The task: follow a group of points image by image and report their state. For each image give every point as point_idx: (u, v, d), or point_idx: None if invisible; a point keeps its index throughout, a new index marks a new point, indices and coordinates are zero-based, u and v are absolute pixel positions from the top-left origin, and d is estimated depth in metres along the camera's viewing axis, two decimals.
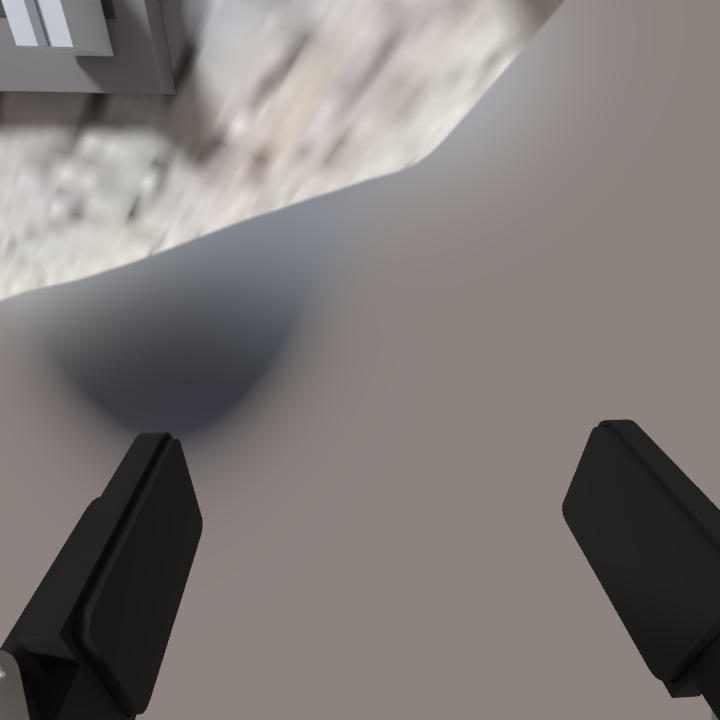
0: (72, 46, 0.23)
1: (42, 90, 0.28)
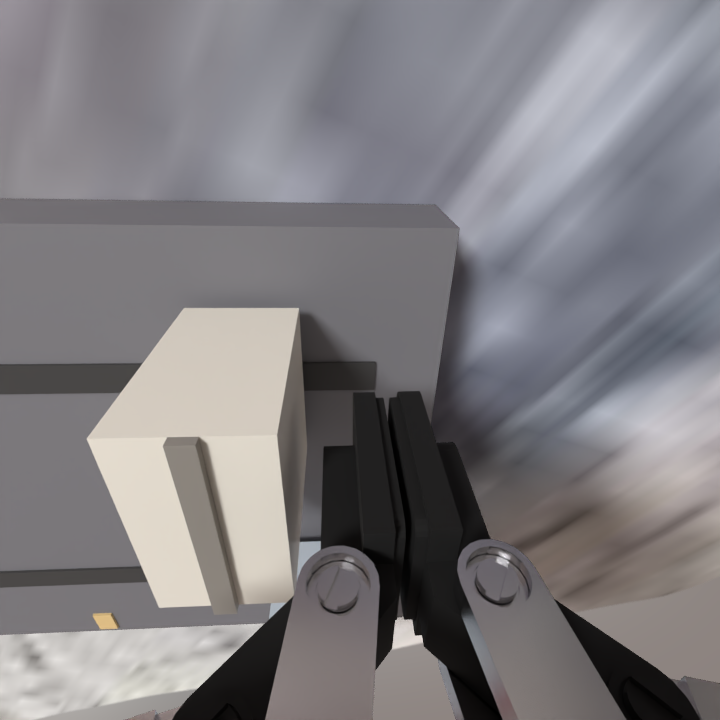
0: None
1: (238, 623, 0.20)
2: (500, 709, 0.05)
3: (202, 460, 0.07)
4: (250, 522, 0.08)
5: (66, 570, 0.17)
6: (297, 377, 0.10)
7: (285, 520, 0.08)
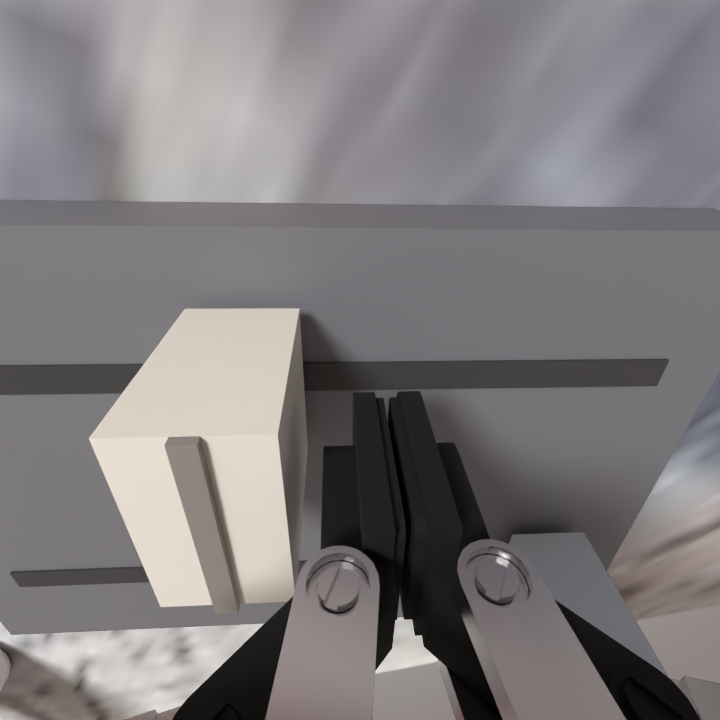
0: None
1: None
2: (500, 709, 0.05)
3: (204, 460, 0.07)
4: (251, 521, 0.08)
5: None
6: (298, 377, 0.10)
7: (286, 519, 0.08)
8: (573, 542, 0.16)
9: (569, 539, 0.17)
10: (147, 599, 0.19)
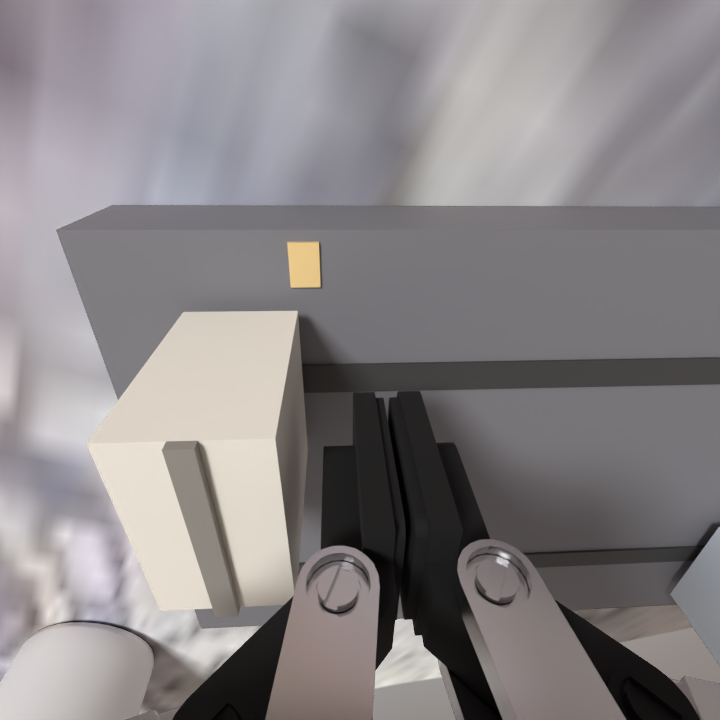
0: None
1: (600, 607, 0.21)
2: (500, 709, 0.05)
3: (201, 464, 0.07)
4: (251, 524, 0.08)
5: None
6: (296, 380, 0.10)
7: (285, 523, 0.08)
8: None
9: None
10: None
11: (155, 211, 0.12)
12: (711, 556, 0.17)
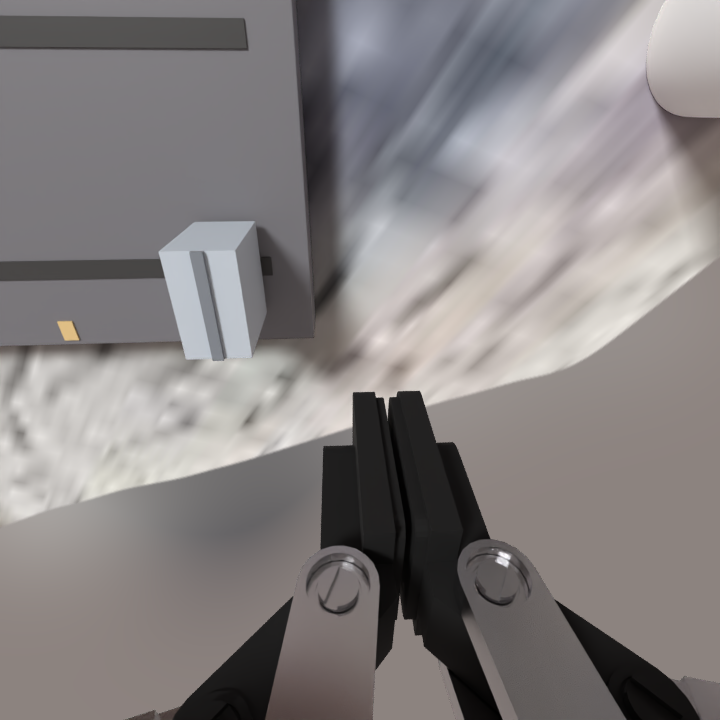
0: None
1: (178, 340, 0.25)
2: (500, 709, 0.05)
3: None
4: None
5: (32, 261, 0.22)
6: None
7: None
8: (240, 223, 0.20)
9: (238, 222, 0.20)
10: None
11: None
12: None
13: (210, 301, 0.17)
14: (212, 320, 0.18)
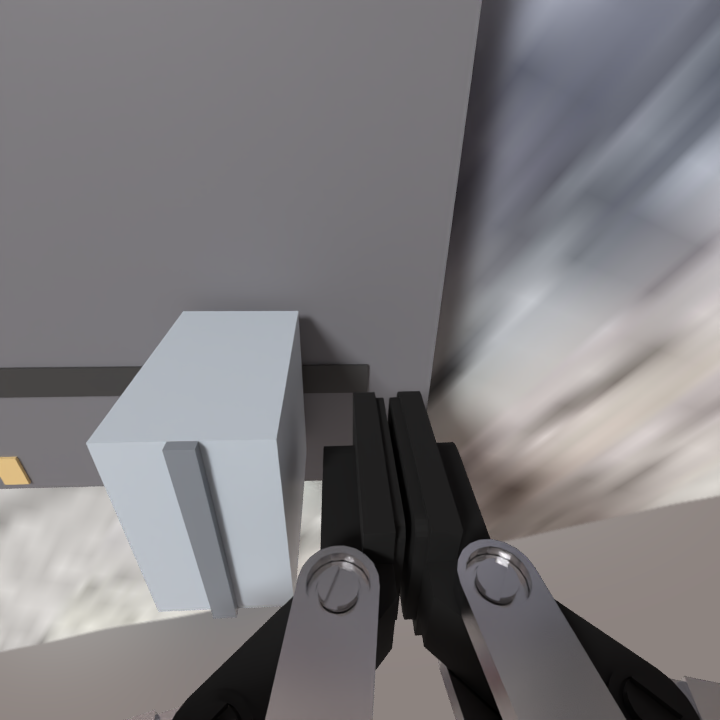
0: None
1: None
2: (501, 709, 0.05)
3: None
4: None
5: None
6: None
7: None
8: (271, 318, 0.11)
9: (266, 315, 0.11)
10: None
11: None
12: None
13: (212, 533, 0.08)
14: (215, 562, 0.08)
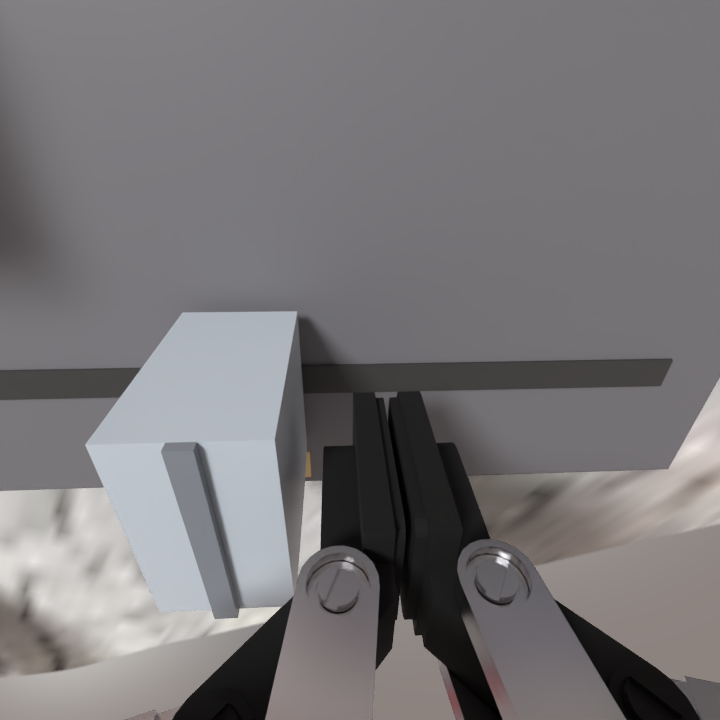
0: None
1: None
2: (500, 709, 0.05)
3: None
4: None
5: None
6: None
7: None
8: (270, 319, 0.11)
9: (265, 317, 0.11)
10: (75, 433, 0.13)
11: None
12: None
13: (211, 534, 0.08)
14: (214, 563, 0.08)
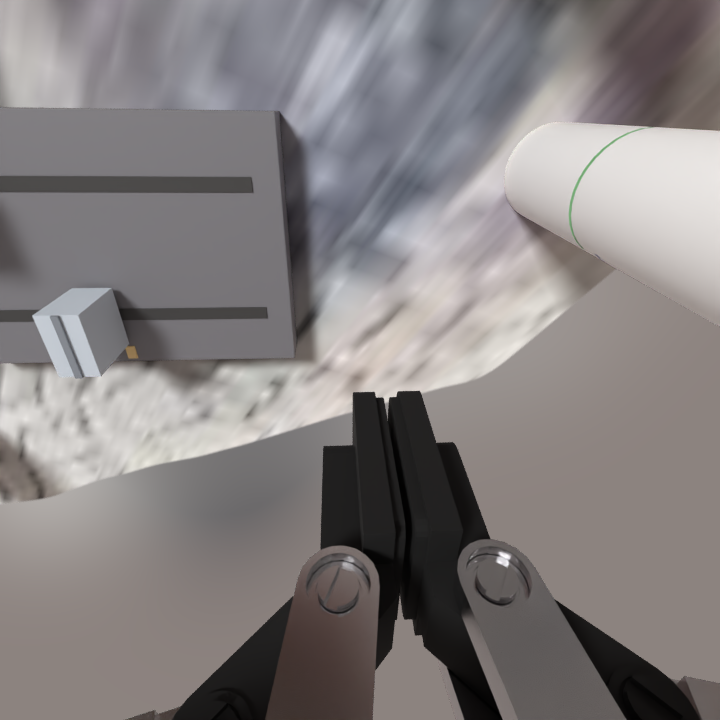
0: (100, 375, 0.31)
1: (203, 358, 0.37)
2: (500, 709, 0.05)
3: None
4: None
5: None
6: None
7: None
8: (100, 290, 0.32)
9: (99, 289, 0.32)
10: (39, 337, 0.35)
11: None
12: None
13: (67, 343, 0.29)
14: (70, 354, 0.29)
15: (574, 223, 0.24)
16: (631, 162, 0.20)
